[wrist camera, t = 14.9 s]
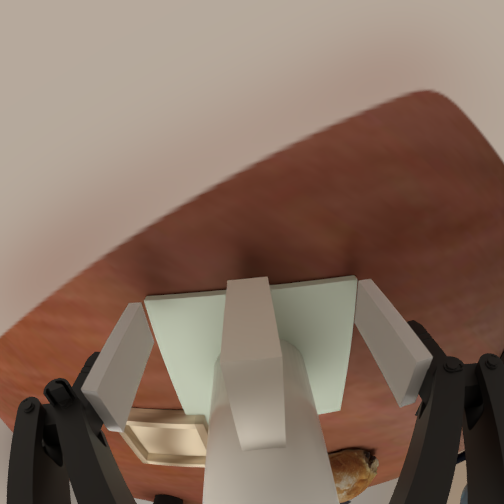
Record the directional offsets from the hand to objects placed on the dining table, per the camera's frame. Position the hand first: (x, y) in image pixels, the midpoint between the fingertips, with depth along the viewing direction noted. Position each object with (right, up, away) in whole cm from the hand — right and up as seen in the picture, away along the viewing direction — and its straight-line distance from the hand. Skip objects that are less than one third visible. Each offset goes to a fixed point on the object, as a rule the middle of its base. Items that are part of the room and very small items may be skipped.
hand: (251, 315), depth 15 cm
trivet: (+1, -5, +6) cm, 8 cm away
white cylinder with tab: (0, -3, +4) cm, 5 cm away
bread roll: (+11, -24, +14) cm, 31 cm away
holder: (-8, -16, +10) cm, 20 cm away
